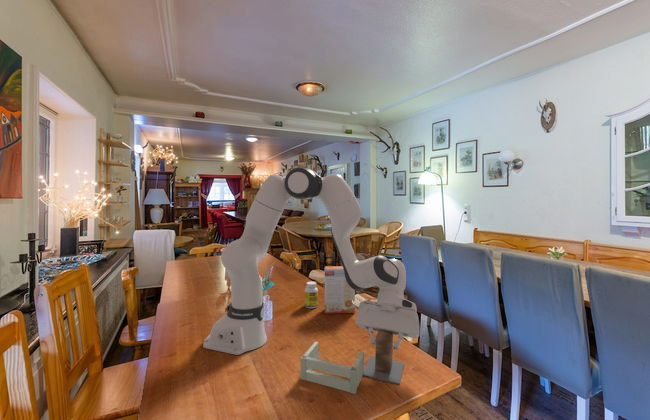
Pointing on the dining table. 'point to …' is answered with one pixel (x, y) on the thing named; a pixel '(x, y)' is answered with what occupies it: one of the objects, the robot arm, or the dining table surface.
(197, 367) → the dining table surface
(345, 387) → the crate
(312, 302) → the pill bottle
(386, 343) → the walnut block
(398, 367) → the mat
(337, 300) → the cracker box
